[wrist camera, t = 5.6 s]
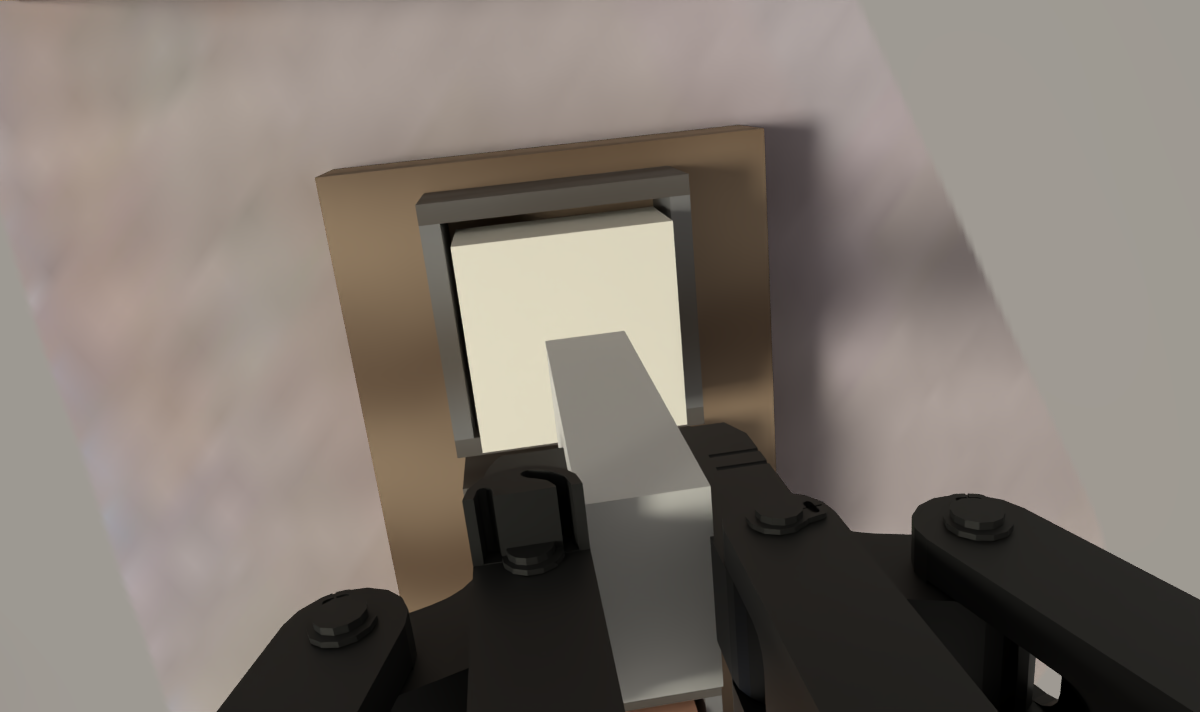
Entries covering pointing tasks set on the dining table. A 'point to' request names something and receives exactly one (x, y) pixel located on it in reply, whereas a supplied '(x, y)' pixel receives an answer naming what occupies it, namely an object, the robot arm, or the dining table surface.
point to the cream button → (563, 310)
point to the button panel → (435, 331)
